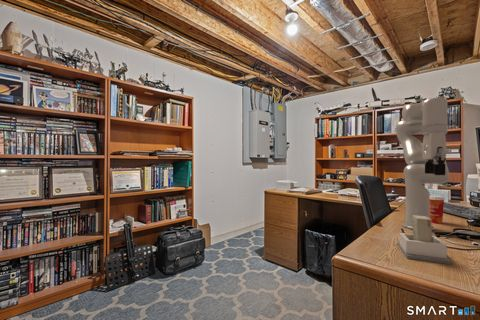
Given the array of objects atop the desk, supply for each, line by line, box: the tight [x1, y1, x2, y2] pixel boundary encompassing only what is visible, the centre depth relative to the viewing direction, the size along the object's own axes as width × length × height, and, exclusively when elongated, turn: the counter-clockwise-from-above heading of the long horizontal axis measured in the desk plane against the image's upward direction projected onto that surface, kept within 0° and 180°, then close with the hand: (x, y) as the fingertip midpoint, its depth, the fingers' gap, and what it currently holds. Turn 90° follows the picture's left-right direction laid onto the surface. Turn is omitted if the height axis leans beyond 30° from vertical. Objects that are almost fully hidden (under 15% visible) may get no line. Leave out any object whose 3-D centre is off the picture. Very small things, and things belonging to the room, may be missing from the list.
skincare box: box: [412, 215, 433, 242], centre depth 85 cm, size 6×4×12 cm
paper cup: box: [430, 195, 446, 225], centre depth 126 cm, size 8×8×14 cm
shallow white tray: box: [396, 232, 452, 265], centre depth 85 cm, size 14×12×6 cm
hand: (434, 174), depth 91 cm, fingers open, 9 cm apart
